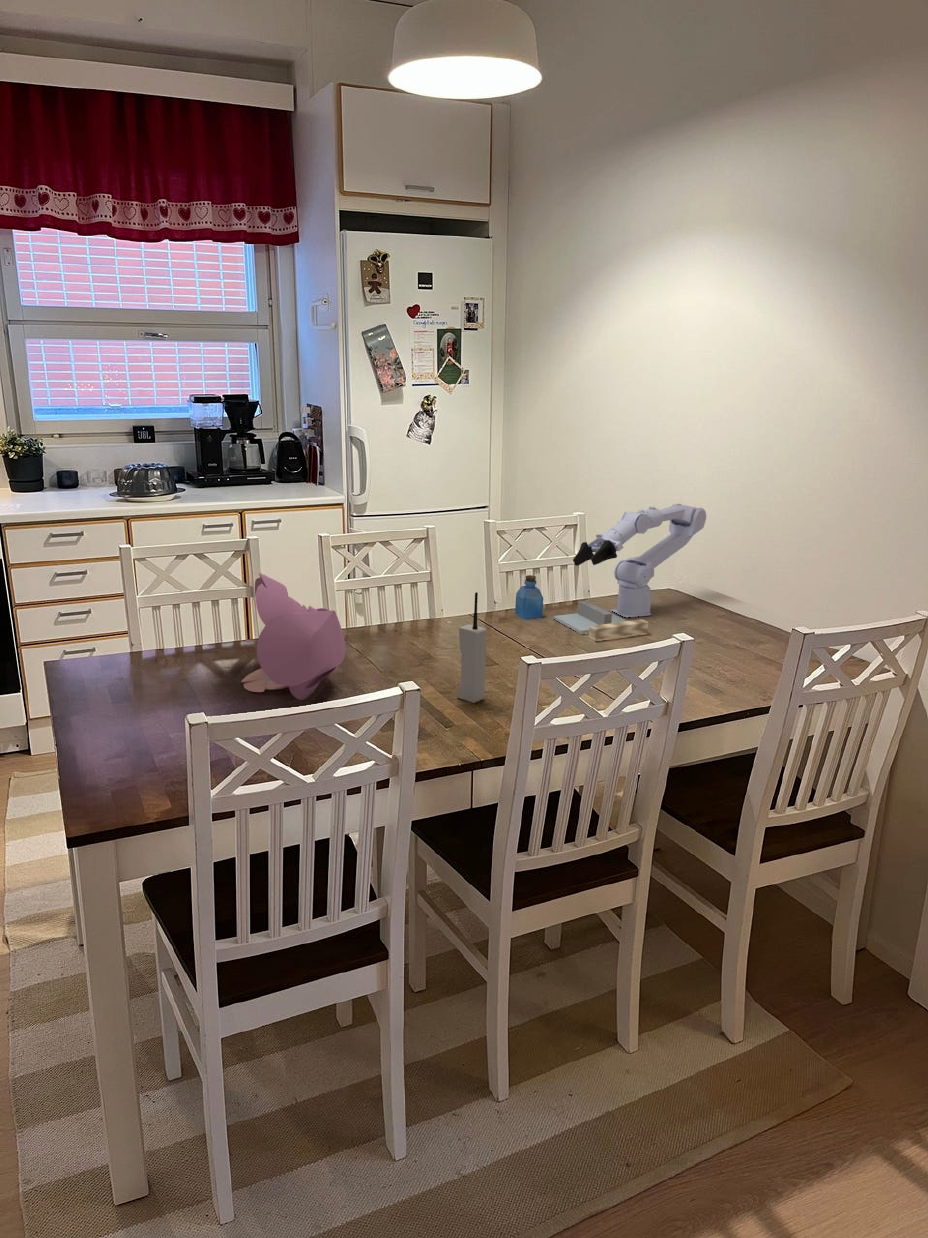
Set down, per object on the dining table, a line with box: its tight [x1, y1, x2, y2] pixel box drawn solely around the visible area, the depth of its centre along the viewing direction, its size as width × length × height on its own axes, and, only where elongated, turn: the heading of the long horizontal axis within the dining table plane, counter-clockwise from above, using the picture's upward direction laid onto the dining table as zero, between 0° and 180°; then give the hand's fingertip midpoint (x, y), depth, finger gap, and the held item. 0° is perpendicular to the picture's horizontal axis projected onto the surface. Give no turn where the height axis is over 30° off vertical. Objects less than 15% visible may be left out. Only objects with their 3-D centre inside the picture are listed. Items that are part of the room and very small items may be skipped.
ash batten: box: [587, 618, 649, 640], centre depth 254 cm, size 18×3×4 cm, turn 117°
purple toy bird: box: [241, 571, 347, 701], centre depth 210 cm, size 35×24×28 cm
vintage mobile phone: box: [456, 591, 488, 704], centre depth 204 cm, size 4×5×25 cm
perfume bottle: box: [514, 574, 544, 620], centre depth 270 cm, size 6×6×12 cm
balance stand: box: [553, 600, 628, 633], centre depth 265 cm, size 18×15×5 cm
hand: (583, 562), depth 258 cm, fingers open, 7 cm apart
